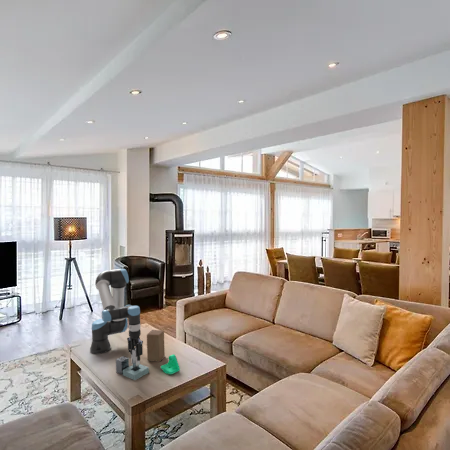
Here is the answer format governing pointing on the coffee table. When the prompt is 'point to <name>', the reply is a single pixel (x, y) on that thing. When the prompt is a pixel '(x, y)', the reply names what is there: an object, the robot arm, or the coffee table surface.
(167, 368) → the camera mount
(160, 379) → the coffee table surface
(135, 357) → the cylinder
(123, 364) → the square bit
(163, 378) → the coffee table surface
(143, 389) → the coffee table surface
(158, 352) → the wooden block
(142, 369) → the socket plate
